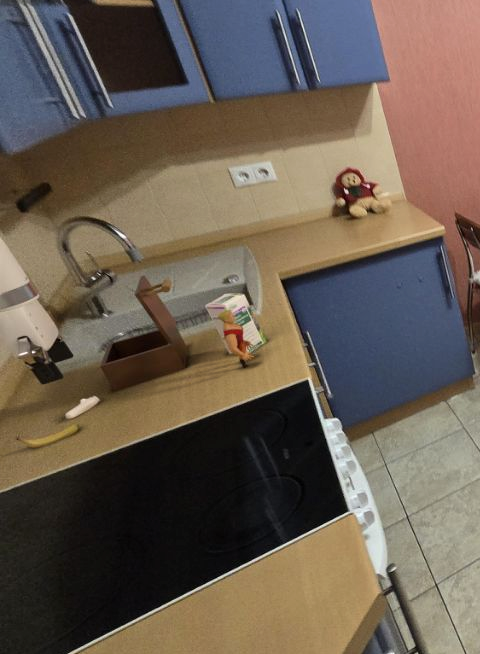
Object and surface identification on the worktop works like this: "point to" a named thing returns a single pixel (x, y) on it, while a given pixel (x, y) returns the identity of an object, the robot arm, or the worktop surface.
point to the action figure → (235, 337)
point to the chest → (143, 358)
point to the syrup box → (237, 318)
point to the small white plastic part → (82, 407)
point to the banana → (49, 437)
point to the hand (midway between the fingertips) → (58, 370)
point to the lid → (156, 306)
